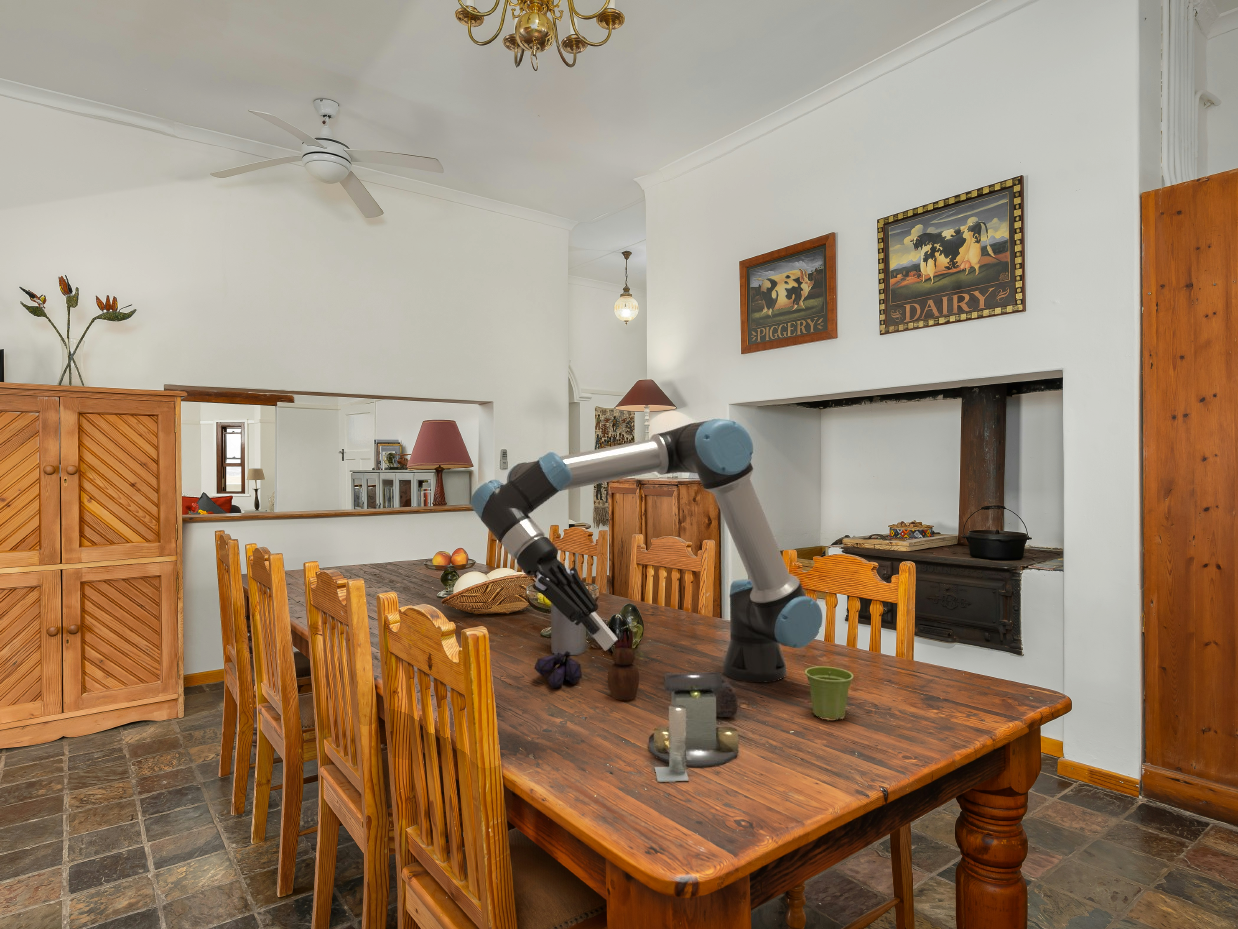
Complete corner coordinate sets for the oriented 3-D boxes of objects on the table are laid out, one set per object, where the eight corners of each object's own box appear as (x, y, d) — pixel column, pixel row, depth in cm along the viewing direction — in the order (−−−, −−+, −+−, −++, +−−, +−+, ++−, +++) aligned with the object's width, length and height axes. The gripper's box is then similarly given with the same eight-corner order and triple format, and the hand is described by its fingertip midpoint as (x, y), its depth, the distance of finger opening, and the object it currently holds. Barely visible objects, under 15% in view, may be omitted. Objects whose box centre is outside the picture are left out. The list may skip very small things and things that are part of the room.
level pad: (684, 768, 114) (684, 766, 114) (688, 782, 109) (688, 780, 109) (654, 769, 113) (654, 767, 113) (657, 782, 108) (657, 781, 108)
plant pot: (853, 710, 140) (853, 668, 140) (853, 727, 131) (853, 682, 131) (806, 705, 143) (806, 664, 143) (803, 721, 134) (803, 677, 134)
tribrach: (727, 729, 130) (727, 659, 131) (747, 766, 114) (747, 686, 114) (644, 731, 130) (644, 661, 130) (653, 768, 113) (653, 688, 113)
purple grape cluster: (542, 642, 172) (531, 658, 152) (587, 647, 172) (582, 663, 152) (538, 671, 171) (527, 690, 151) (584, 676, 171) (578, 696, 151)
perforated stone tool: (695, 698, 148) (695, 666, 148) (719, 697, 149) (719, 665, 149) (714, 724, 133) (714, 688, 134) (740, 722, 134) (739, 687, 134)
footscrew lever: (651, 748, 120) (651, 691, 120) (670, 746, 120) (670, 689, 121) (670, 773, 110) (669, 711, 110) (690, 770, 111) (690, 709, 111)
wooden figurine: (643, 696, 149) (642, 628, 149) (632, 704, 144) (632, 634, 144) (615, 692, 152) (615, 625, 152) (604, 700, 147) (603, 631, 147)
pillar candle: (566, 644, 193) (566, 592, 193) (593, 649, 188) (592, 595, 188) (543, 652, 186) (542, 598, 185) (571, 658, 180) (570, 602, 180)
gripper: (537, 557, 135) (614, 649, 128) (499, 566, 124) (581, 668, 116) (560, 531, 133) (639, 623, 126) (522, 538, 121) (608, 640, 114)
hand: (611, 644), depth 121 cm, fingers closed
